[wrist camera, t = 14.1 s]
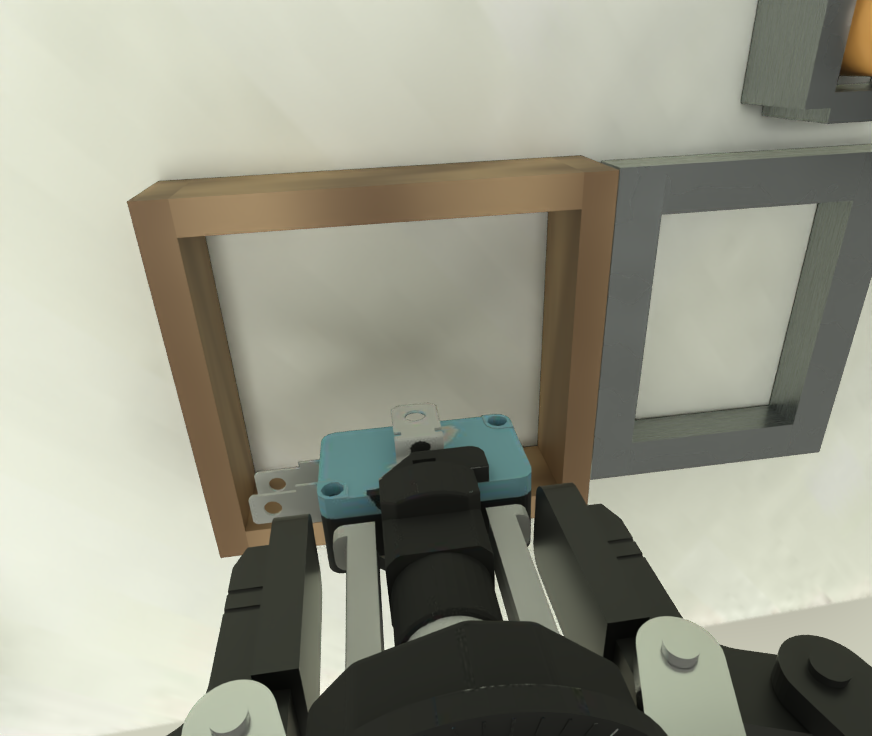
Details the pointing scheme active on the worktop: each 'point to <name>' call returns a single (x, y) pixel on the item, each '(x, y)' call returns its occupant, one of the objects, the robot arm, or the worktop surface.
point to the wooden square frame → (359, 205)
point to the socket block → (809, 324)
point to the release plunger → (859, 42)
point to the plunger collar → (804, 63)
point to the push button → (444, 588)
